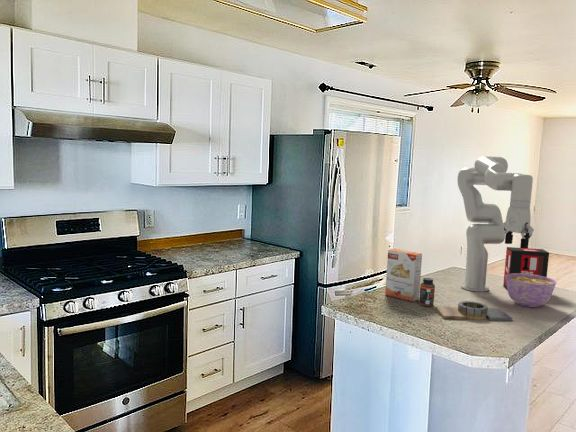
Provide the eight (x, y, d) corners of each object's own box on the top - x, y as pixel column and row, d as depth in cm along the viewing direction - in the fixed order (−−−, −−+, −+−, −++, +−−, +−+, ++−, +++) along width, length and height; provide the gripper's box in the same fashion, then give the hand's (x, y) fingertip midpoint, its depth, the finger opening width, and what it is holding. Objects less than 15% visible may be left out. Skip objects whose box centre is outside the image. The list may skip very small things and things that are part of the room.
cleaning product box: (508, 291, 235) (511, 250, 233) (503, 286, 244) (506, 247, 241) (544, 294, 232) (549, 252, 230) (538, 289, 241) (542, 249, 239)
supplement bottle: (431, 307, 204) (433, 281, 203) (417, 305, 207) (418, 279, 206) (435, 304, 209) (437, 278, 208) (421, 301, 212) (423, 276, 211)
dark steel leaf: (464, 319, 191) (465, 309, 190) (453, 309, 203) (454, 300, 202) (512, 320, 191) (513, 311, 191) (498, 311, 203) (499, 301, 202)
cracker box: (384, 295, 221) (387, 249, 218) (391, 292, 225) (394, 248, 223) (412, 302, 211) (416, 254, 209) (419, 299, 216) (422, 252, 213)
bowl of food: (513, 295, 228) (515, 271, 227) (560, 305, 214) (562, 279, 213) (495, 303, 214) (497, 277, 213) (544, 315, 200) (547, 287, 199)
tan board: (443, 318, 191) (444, 313, 190) (434, 309, 202) (434, 304, 202) (491, 320, 191) (492, 315, 191) (479, 310, 203) (479, 305, 203)
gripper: (498, 202, 208) (495, 242, 210) (526, 207, 191) (522, 250, 193) (514, 202, 210) (510, 242, 212) (543, 207, 193) (538, 250, 195)
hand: (516, 245), depth 203 cm, fingers open, 9 cm apart
